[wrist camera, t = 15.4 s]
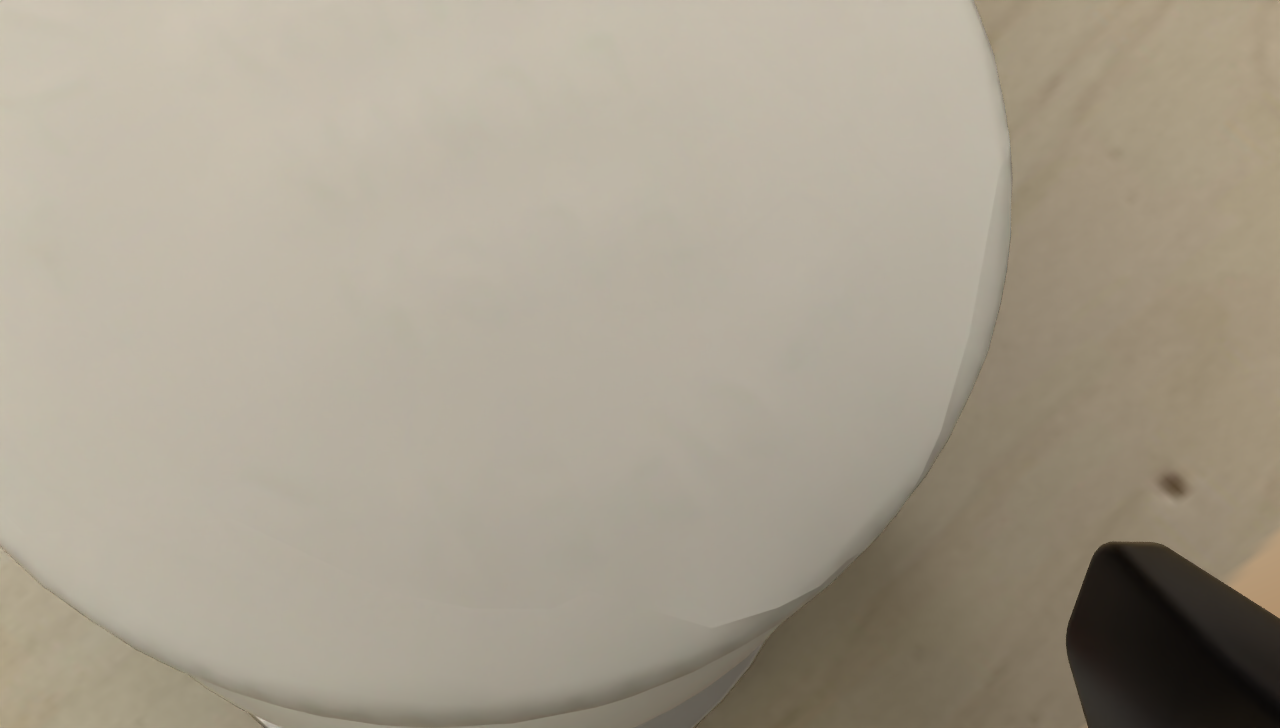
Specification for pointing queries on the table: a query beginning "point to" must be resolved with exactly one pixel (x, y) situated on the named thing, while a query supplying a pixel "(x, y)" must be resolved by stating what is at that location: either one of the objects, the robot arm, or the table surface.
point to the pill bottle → (481, 332)
